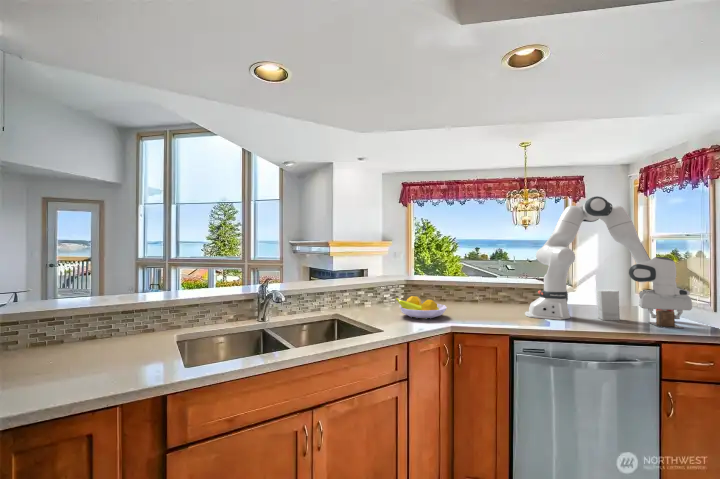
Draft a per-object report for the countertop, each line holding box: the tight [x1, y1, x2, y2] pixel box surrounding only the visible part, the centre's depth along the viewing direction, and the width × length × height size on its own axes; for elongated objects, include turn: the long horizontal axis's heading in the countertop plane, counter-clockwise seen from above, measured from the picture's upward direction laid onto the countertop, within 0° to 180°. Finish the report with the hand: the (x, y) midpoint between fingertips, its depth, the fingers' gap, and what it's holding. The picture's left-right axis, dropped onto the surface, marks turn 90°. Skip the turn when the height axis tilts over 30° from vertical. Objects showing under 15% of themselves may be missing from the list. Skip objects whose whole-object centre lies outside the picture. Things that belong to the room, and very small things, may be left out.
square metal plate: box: [648, 321, 685, 330], centre depth 172 cm, size 10×10×6 cm
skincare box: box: [596, 289, 621, 322], centre depth 187 cm, size 8×7×16 cm
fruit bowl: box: [395, 295, 448, 319], centre depth 199 cm, size 28×27×11 cm
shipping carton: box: [655, 309, 676, 326], centre depth 172 cm, size 5×5×7 cm
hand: (665, 318), depth 172 cm, fingers open, 8 cm apart
